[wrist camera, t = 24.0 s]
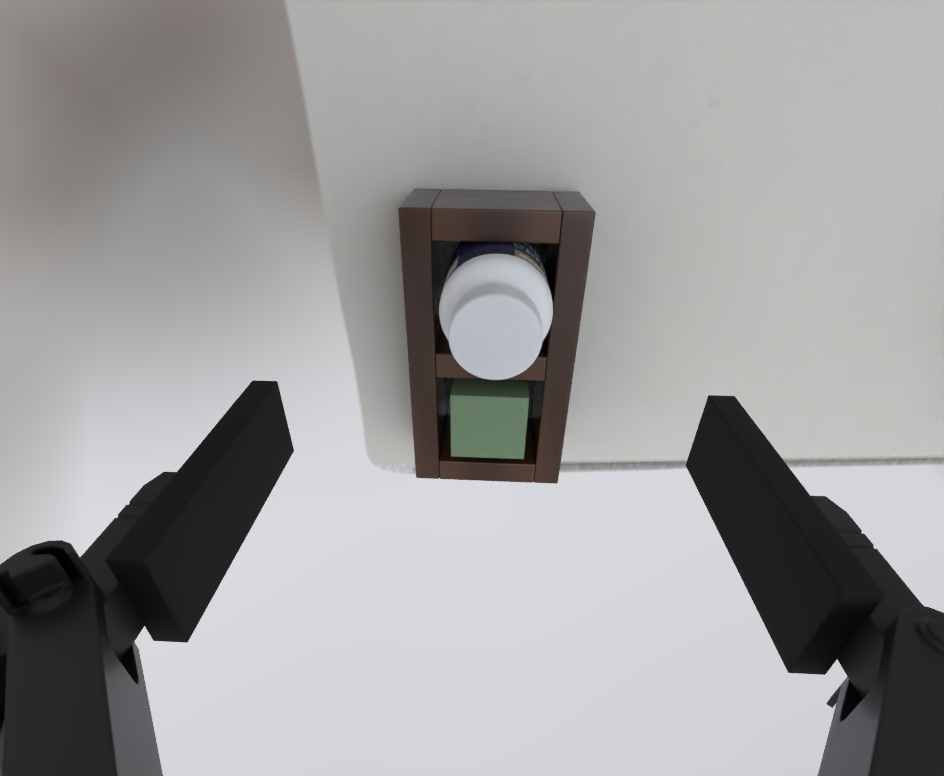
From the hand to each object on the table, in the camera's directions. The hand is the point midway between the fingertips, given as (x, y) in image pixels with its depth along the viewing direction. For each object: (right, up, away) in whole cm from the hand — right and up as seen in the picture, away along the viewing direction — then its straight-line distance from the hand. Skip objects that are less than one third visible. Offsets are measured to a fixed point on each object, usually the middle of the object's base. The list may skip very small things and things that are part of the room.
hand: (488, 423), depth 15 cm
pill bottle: (+1, +8, +13) cm, 16 cm away
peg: (+1, +2, +17) cm, 17 cm away
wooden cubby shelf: (+1, +5, +15) cm, 16 cm away
